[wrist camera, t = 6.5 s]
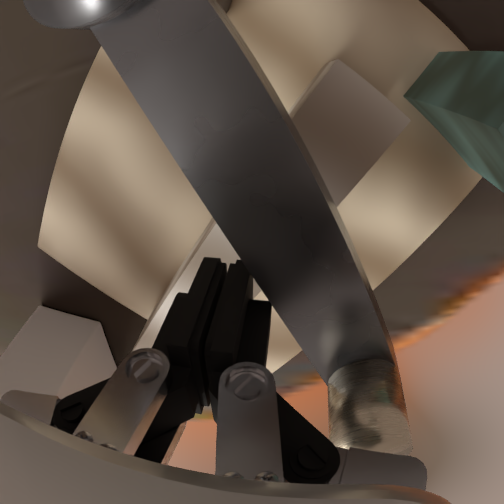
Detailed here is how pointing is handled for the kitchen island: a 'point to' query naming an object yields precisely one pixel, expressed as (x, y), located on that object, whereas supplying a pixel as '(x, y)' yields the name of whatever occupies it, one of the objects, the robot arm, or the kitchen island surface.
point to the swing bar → (256, 194)
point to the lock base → (314, 136)
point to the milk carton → (56, 355)
